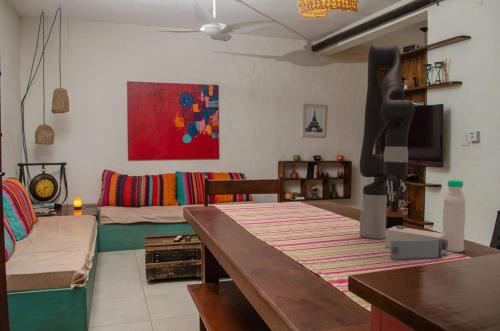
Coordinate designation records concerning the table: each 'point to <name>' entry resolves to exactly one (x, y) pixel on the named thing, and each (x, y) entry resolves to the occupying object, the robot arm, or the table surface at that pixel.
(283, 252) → the table surface
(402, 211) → the battery
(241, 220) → the table surface
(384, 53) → the robot arm
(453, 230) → the water bottle
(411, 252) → the side door
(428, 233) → the housing
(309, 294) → the table surface
